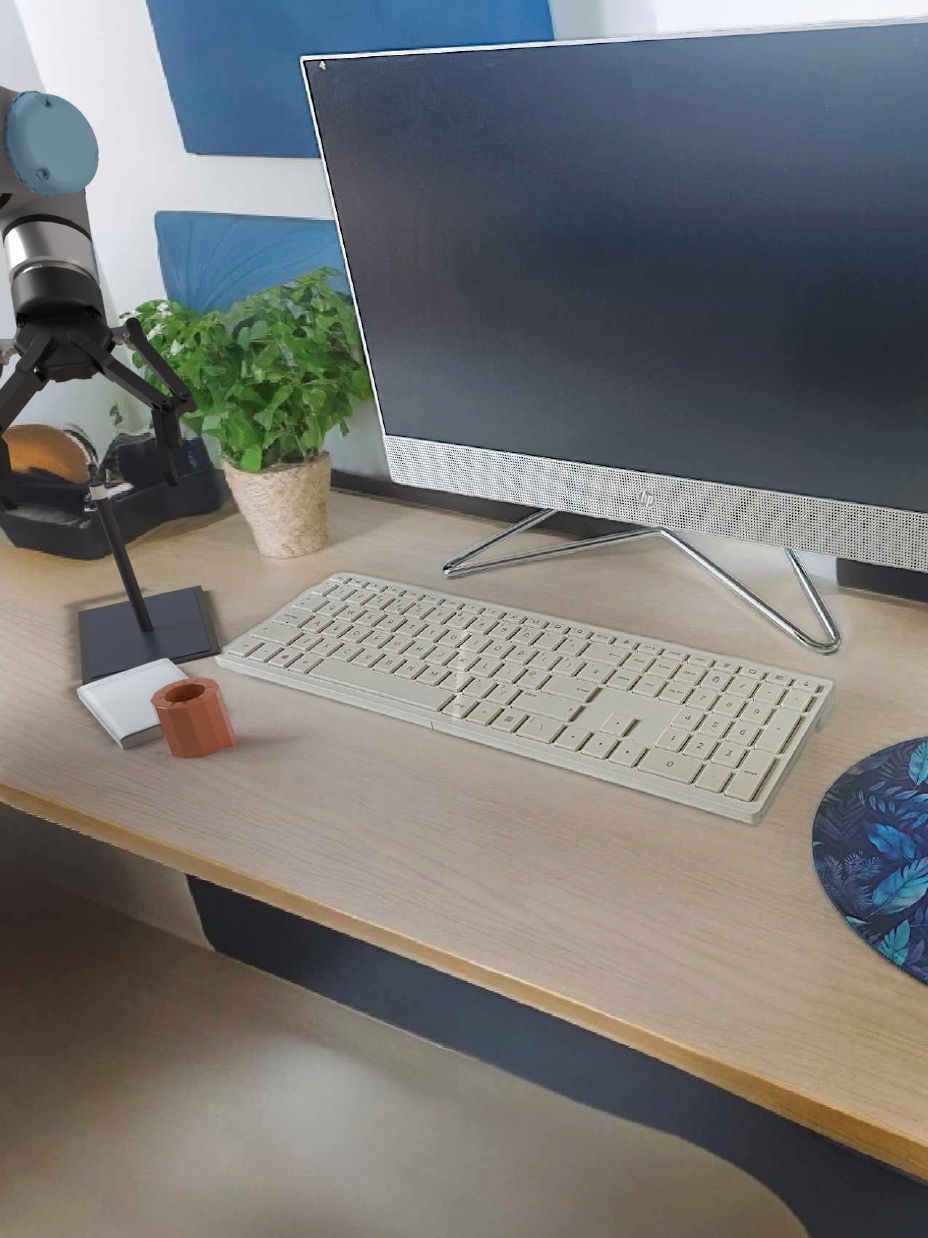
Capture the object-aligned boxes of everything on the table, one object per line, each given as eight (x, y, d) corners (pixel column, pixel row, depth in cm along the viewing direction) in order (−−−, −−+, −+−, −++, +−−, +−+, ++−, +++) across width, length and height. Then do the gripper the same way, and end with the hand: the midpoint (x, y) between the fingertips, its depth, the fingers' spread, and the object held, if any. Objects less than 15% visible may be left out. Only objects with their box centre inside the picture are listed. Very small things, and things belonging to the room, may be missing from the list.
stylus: (138, 632, 117) (86, 485, 109) (141, 627, 118) (90, 481, 110) (151, 631, 117) (100, 484, 109) (154, 625, 118) (104, 479, 110)
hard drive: (217, 702, 102) (167, 655, 111) (118, 738, 98) (74, 686, 106) (222, 719, 103) (172, 670, 111) (125, 755, 99) (80, 702, 107)
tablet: (222, 657, 113) (220, 650, 113) (84, 691, 109) (81, 683, 108) (202, 590, 127) (200, 583, 127) (79, 617, 123) (77, 610, 122)
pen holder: (167, 776, 96) (143, 711, 92) (182, 744, 100) (160, 681, 97) (231, 768, 96) (210, 704, 93) (243, 736, 100) (223, 674, 97)
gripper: (206, 297, 119) (243, 489, 114) (-74, 327, 112) (-46, 531, 108) (187, 248, 112) (226, 450, 107) (-113, 277, 105) (-84, 493, 101)
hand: (90, 491), depth 108 cm, fingers open, 13 cm apart
